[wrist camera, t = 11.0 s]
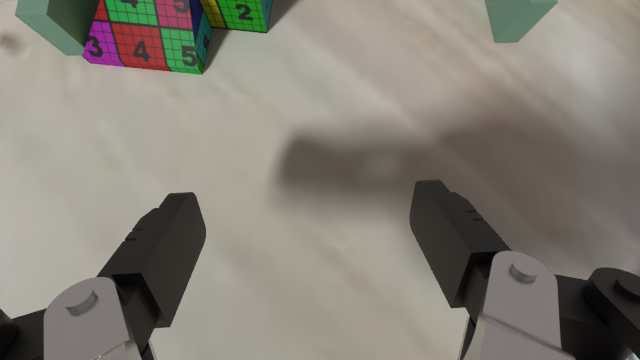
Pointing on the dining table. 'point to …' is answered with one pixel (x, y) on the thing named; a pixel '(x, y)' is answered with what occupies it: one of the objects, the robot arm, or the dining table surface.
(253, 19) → the building blocks
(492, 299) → the robot arm
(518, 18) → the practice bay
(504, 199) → the dining table surface
